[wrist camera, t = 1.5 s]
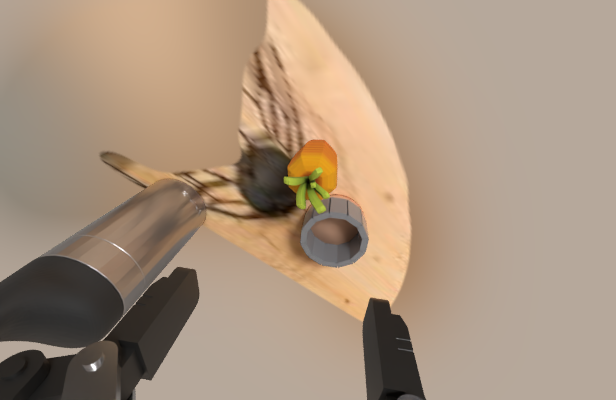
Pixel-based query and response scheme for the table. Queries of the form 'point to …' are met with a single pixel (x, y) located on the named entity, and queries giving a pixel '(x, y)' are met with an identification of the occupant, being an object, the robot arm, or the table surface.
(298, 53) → the table surface
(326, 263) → the cup
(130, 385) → the robot arm
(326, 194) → the carrot
